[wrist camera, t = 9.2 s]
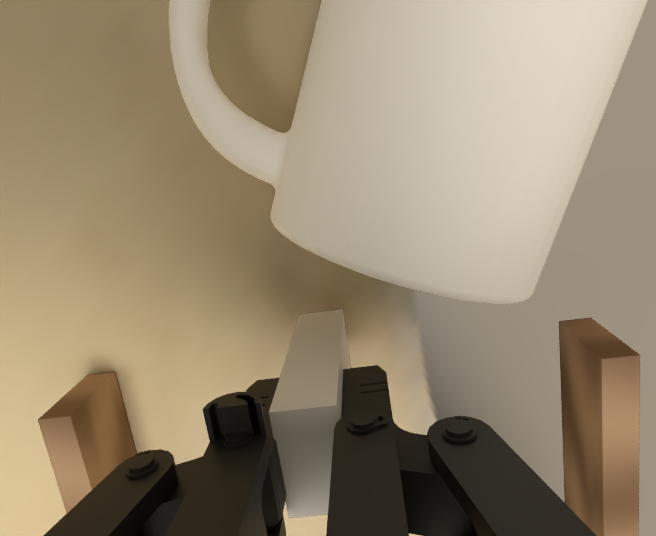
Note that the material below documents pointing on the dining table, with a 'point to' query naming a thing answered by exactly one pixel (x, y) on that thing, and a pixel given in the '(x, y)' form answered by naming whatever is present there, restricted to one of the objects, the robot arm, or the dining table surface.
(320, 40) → the mug
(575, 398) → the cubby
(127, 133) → the dining table surface
